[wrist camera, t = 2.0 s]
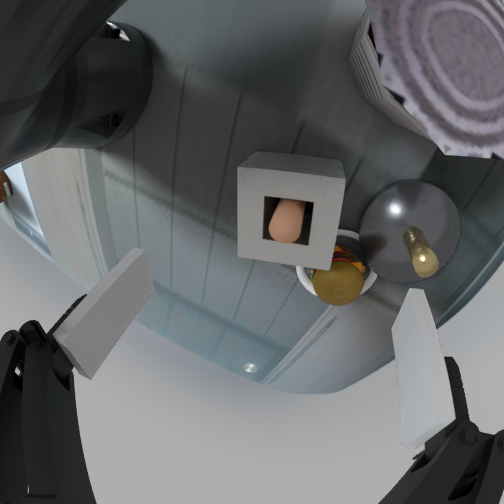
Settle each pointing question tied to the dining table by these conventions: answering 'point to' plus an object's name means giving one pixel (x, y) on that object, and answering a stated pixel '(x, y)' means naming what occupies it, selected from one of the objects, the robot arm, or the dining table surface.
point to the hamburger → (339, 276)
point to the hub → (409, 231)
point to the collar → (291, 187)
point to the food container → (5, 187)
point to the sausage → (287, 220)
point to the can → (436, 70)
